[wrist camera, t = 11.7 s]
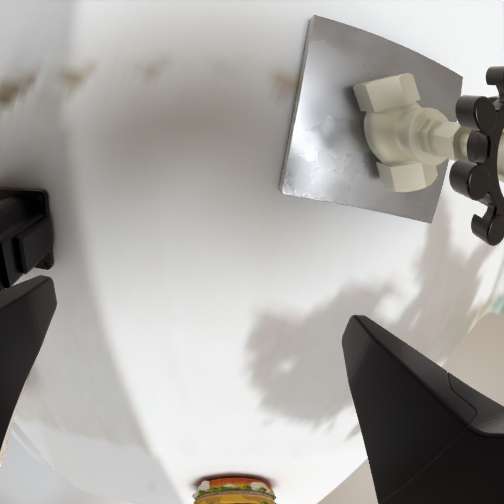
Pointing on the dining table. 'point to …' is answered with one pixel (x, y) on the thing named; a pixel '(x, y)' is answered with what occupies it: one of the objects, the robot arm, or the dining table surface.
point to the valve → (439, 143)
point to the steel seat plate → (356, 120)
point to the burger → (234, 492)
